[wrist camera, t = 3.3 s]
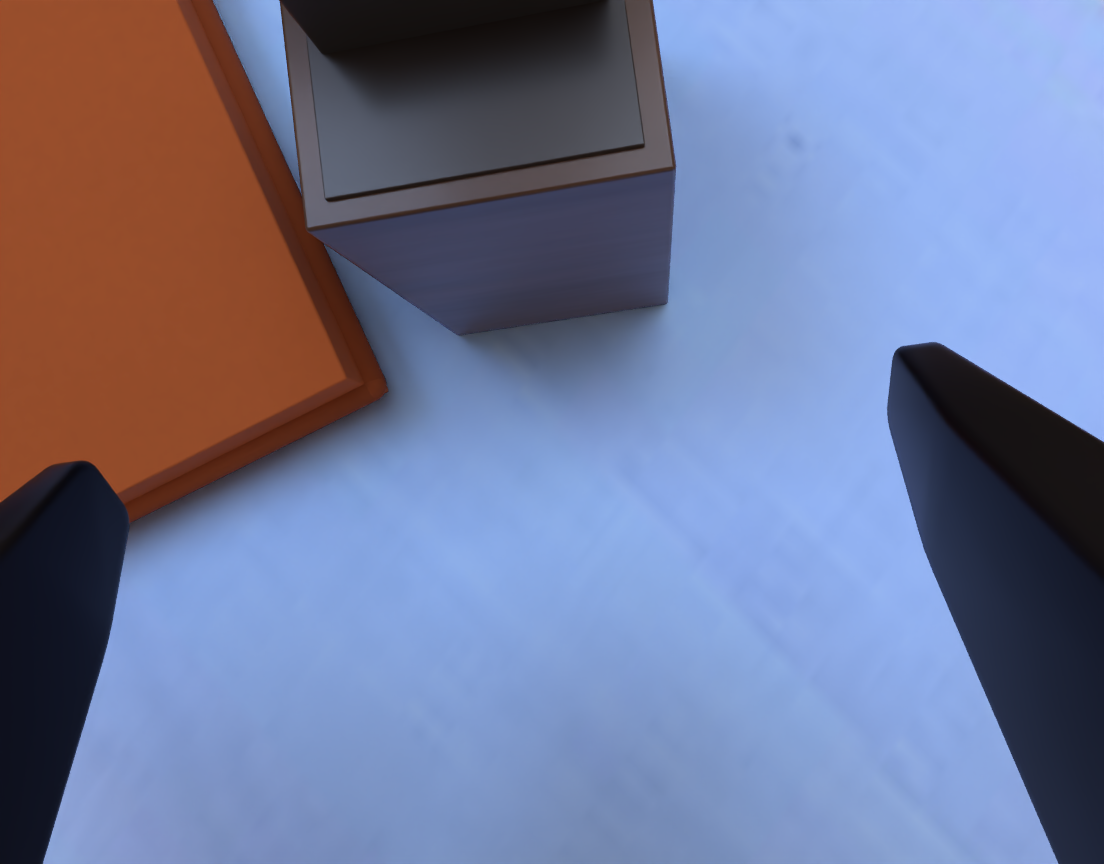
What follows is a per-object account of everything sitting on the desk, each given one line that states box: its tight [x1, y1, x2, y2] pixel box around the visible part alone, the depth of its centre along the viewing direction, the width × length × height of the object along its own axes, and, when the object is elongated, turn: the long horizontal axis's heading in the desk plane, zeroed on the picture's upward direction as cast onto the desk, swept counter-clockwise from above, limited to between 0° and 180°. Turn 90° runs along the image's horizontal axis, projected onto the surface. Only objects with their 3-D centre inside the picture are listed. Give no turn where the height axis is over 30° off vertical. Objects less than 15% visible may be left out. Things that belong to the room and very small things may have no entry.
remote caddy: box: [279, 0, 676, 335], centre depth 17 cm, size 7×6×12 cm
